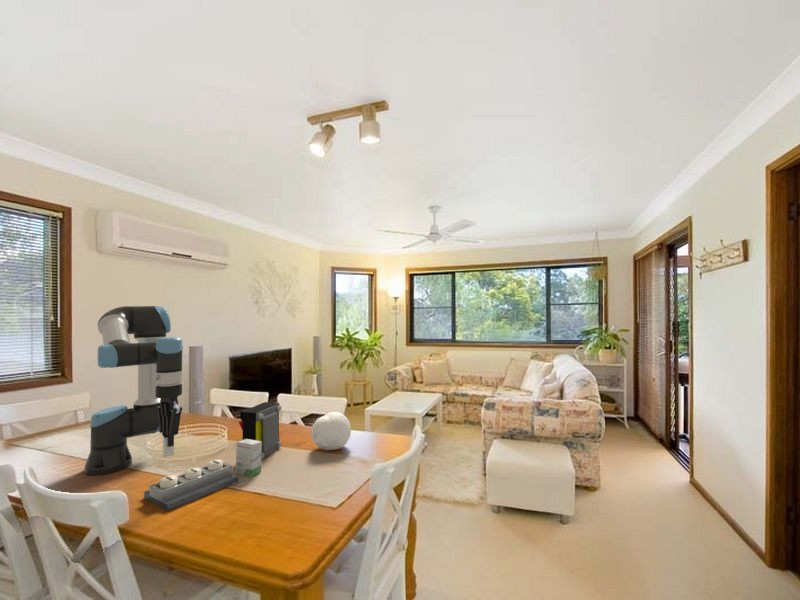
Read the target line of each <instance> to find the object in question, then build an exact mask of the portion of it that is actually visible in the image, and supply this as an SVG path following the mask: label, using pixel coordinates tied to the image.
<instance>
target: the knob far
mask: <svg viewBox="0 0 800 600" xmlns="http://www.w3.org/2000/svg"><path fill="white" fill-rule="evenodd" d="M223 462H224V460H223V459H214V460H210V461H208V462H207V465H208V471H211V472H213V471H216V470H218V469H221V468H223Z"/></svg>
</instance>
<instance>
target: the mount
mask: <svg viewBox="0 0 800 600" xmlns="http://www.w3.org/2000/svg"><path fill="white" fill-rule="evenodd" d="M200 468H201V476H200V477H197V478H194V479H191V480H187V479H185V472H184V473H182V474H178V475H176V476H177V477H178V482H177V485H175V486H173V487H170V488H167V489H165V490H162V489H160V481H159V482H157V483H153V484H150V485H149V486H148V490H145V491H143V498H144V499H145V500H147V501H148V502H150V503H152V504H154V505H155V506H157V507H159V508H160V509H163V510H164V511H166V512H170V511H172V510H175V509H177V508H179V507H180V508H181V507H182V506H185V505H186V504H188V503H189V504H190V503H191V502H194V501H196V500H198V499H201V498H202V497H205V496H208V495H210V494H214V493H215V492H218V491H220V490H223V489H224V488H227V487H229V486H232V485H234V484H237V483H239V476H238V475H237V474H234V473H233V465H232V464H231V463H230V464H229V463H227V462H224V461H223V468H221V469H218V470H216V471H213V472H211V471H208V464H207V465H204V466H202V467H200Z"/></svg>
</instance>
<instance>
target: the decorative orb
mask: <svg viewBox="0 0 800 600" xmlns="http://www.w3.org/2000/svg"><path fill="white" fill-rule="evenodd" d="M351 426H352V425H351V423H350V420H349V419H348V417H346V416H345V414H343V413H341V412H339V411H332V412H328V413H326V414H325V415H323V416H321V417H319V418H317V419H316V420H315V422H314V423H313V426H312V431H311V440H312V441H313V443H314V445H315V446H317V448H318V449H323V450H324V451H330V450H331V451H334V450H335V451H336V450H338V449H341V448H343V447H344V446H345V445H346V444H347V443H348V441H349V440H350V438H351V434H352V427H351Z"/></svg>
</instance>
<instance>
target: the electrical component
mask: <svg viewBox="0 0 800 600" xmlns="http://www.w3.org/2000/svg"><path fill="white" fill-rule="evenodd" d="M282 408H283V407H282V406H281V404H280V403H279V402H271V401H270V402H269V401H268V402H267V401H264V402H262V403H259V404H257V405H254V406H253V407H249V408H247V409H245V410H241V411H240V413H239V415H240V416H239V417H240V421H238V425H239V426H240V428H241V430H242V440H244V439H251V440H256V441H261V442H262V451H261V460H262V459H264V458H265V457H267V456H268V455H269V454H271V453H272V452H274V451H276V450H277V449H279V448H280V447H282V445H283V444H282V443H283V442H282V441H281V439H280V412H281V411H282Z"/></svg>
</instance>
